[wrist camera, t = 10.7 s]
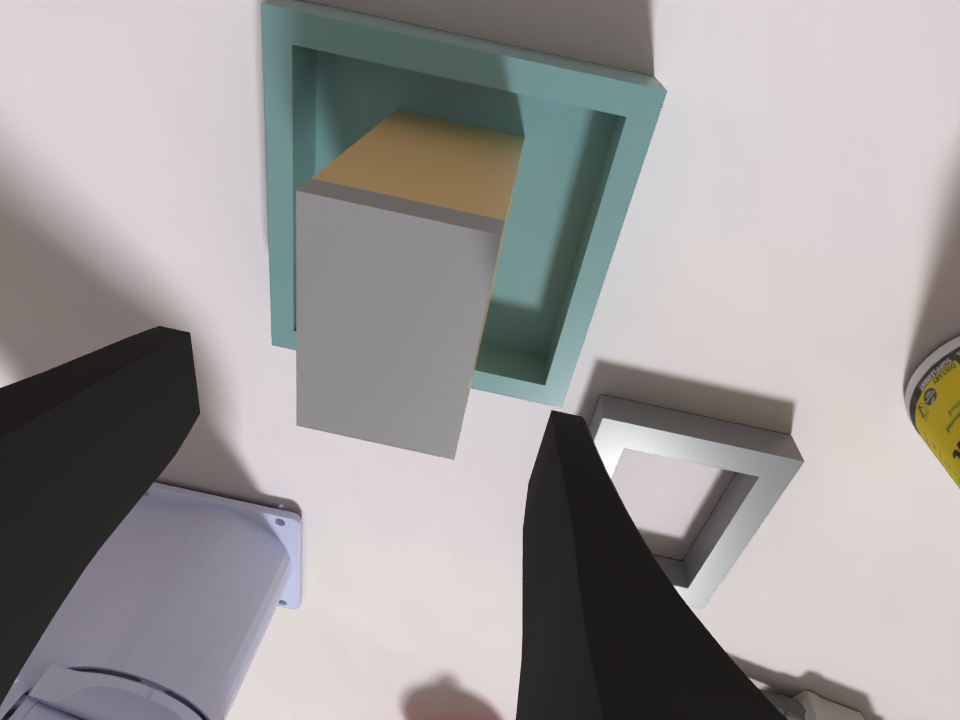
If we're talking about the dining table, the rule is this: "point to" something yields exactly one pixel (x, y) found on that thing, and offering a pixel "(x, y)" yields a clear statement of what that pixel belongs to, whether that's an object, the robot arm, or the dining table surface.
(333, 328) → the plug
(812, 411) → the dining table surface
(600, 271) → the parts tray
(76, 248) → the dining table surface
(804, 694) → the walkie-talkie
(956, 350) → the supplement bottle
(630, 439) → the frame
